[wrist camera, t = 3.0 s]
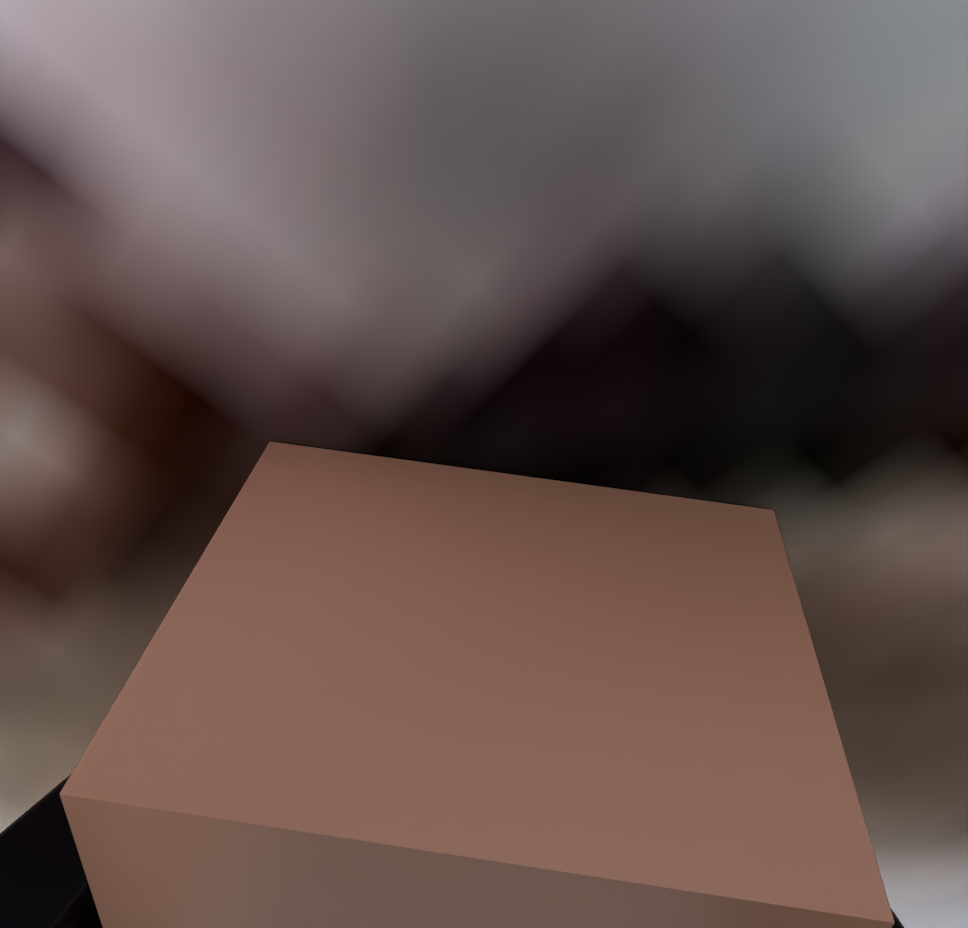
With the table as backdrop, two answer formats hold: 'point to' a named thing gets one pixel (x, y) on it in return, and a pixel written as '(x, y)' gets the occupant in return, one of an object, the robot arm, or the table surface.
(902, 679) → the table surface
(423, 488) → the terracotta brick
